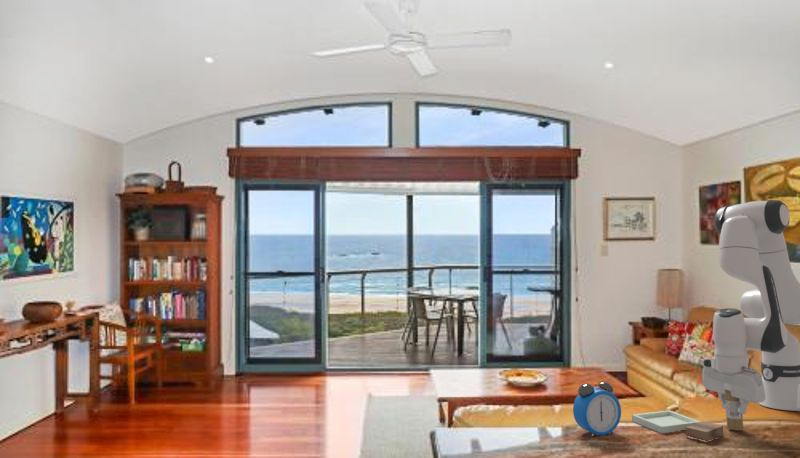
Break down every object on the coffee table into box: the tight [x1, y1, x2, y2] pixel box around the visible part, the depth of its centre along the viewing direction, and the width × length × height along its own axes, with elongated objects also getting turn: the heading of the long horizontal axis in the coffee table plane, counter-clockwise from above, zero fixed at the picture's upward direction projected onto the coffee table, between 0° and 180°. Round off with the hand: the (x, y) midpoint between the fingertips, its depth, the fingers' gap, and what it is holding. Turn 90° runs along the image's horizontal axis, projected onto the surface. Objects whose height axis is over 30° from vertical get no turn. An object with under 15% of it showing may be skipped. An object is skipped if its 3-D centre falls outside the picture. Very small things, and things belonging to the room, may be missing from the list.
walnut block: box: [685, 420, 724, 441], centre depth 175 cm, size 9×6×3 cm, turn 125°
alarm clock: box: [572, 381, 622, 436], centre depth 182 cm, size 13×6×15 cm, turn 107°
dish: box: [631, 410, 701, 434], centre depth 188 cm, size 14×14×2 cm
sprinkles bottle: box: [724, 383, 745, 431], centre depth 181 cm, size 5×5×13 cm
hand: (734, 410), depth 181 cm, fingers closed on sprinkles bottle, 4 cm apart
